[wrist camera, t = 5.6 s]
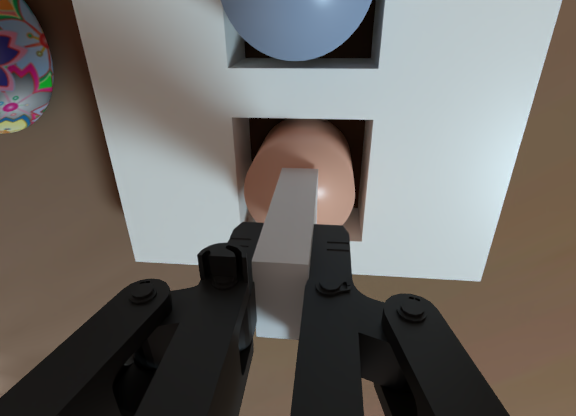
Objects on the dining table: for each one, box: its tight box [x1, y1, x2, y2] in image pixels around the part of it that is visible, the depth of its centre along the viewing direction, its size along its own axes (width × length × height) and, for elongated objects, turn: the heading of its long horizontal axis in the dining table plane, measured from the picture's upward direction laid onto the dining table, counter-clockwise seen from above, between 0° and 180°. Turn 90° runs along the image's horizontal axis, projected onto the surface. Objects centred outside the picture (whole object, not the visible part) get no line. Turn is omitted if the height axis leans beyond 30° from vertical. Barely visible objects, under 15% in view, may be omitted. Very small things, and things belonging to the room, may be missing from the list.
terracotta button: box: [244, 118, 355, 225], centre depth 18 cm, size 5×5×4 cm
